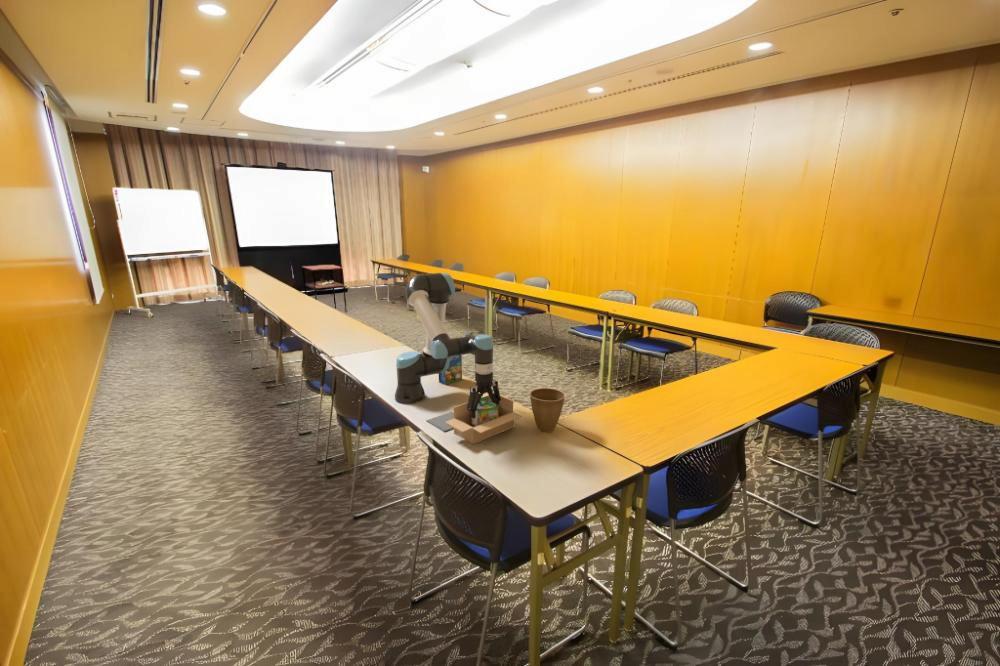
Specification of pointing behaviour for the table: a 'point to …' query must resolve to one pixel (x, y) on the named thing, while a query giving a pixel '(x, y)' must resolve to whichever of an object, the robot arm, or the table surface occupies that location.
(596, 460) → the table surface
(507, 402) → the carton
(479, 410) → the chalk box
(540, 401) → the plant pot
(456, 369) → the blue food package
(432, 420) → the mat
